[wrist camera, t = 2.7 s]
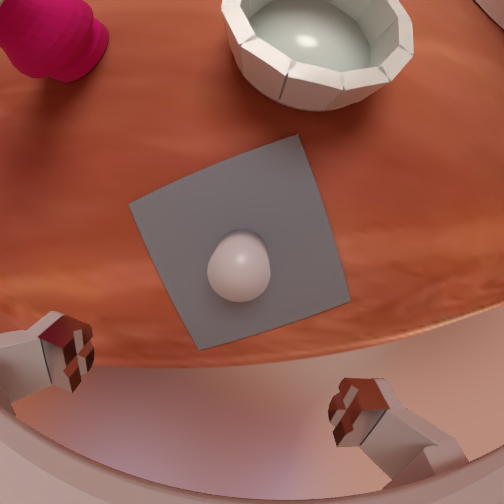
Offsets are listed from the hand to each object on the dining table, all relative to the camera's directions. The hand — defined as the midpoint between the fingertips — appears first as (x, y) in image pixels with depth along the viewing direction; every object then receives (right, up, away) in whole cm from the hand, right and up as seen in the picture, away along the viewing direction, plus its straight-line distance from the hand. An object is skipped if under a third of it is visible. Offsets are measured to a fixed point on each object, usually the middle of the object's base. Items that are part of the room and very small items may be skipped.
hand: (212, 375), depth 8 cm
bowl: (+5, +19, +8) cm, 21 cm away
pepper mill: (-14, +21, +8) cm, 27 cm away
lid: (0, +4, +13) cm, 13 cm away
